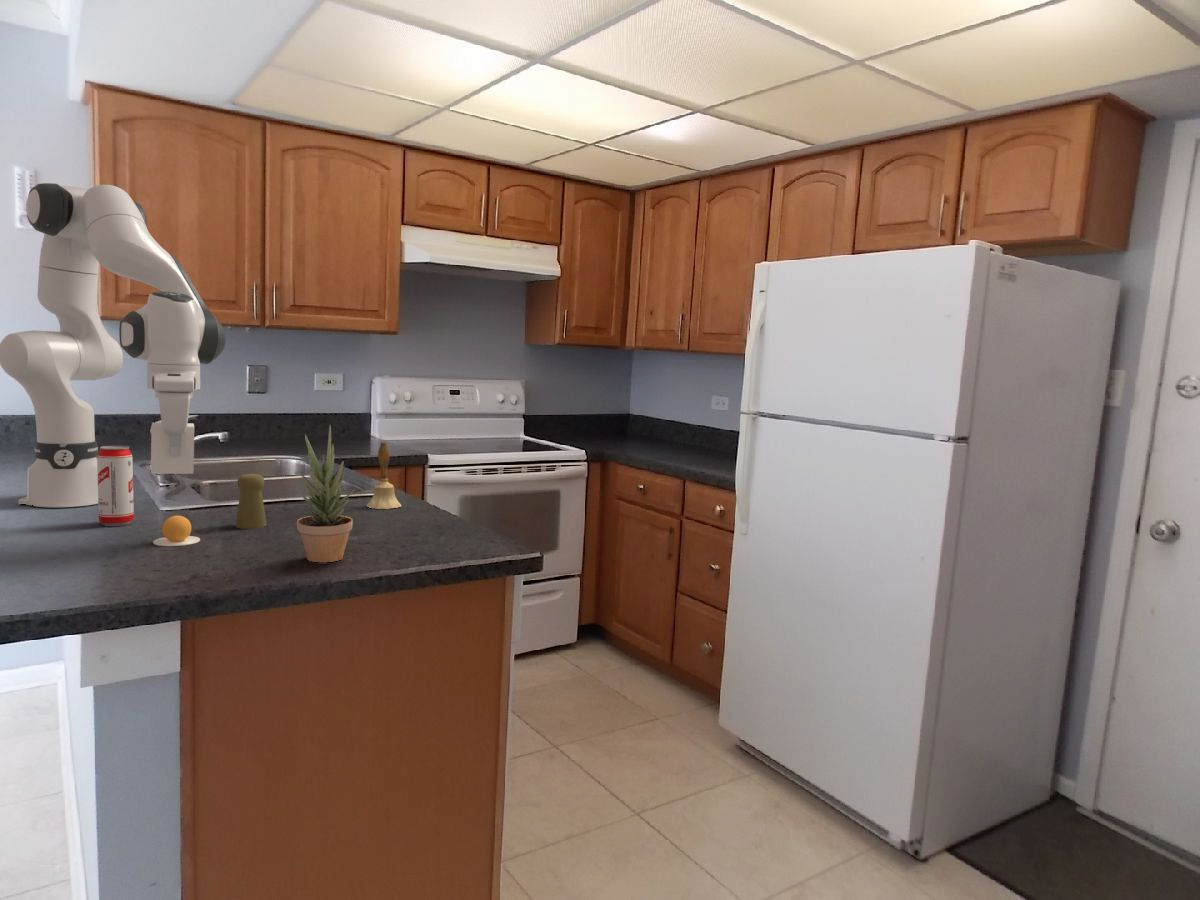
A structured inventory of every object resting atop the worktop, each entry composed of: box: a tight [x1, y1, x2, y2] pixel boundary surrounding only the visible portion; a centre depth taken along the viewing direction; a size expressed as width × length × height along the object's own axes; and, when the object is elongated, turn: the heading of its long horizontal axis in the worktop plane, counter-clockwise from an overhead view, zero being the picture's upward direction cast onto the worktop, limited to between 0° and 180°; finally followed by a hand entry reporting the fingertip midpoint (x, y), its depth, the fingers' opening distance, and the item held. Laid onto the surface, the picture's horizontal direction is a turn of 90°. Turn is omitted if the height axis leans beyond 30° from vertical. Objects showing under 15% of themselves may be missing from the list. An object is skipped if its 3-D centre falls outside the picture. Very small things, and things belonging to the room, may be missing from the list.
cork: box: [235, 473, 267, 530], centre depth 170 cm, size 6×6×11 cm
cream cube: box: [150, 422, 195, 475], centre depth 153 cm, size 7×7×9 cm
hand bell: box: [366, 441, 402, 509], centre depth 197 cm, size 8×8×16 cm
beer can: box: [96, 445, 135, 527], centre depth 166 cm, size 6×6×16 cm
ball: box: [161, 515, 192, 542], centre depth 154 cm, size 5×5×5 cm
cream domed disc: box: [152, 535, 201, 547], centre depth 155 cm, size 8×8×1 cm
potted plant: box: [296, 424, 356, 563], centre depth 145 cm, size 10×10×25 cm
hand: (175, 453), depth 153 cm, fingers closed on cream cube, 7 cm apart
